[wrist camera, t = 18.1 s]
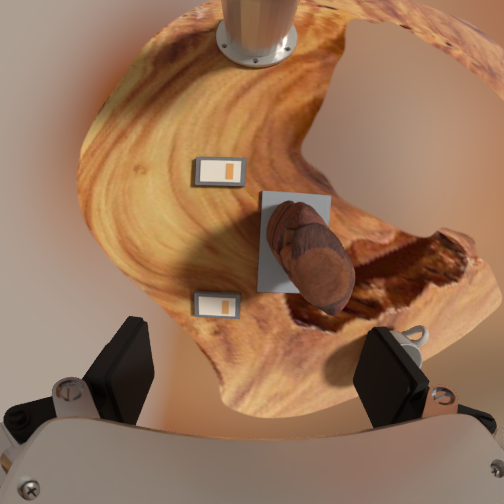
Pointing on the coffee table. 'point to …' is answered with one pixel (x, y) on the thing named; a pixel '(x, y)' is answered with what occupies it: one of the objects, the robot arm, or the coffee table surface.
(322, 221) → the wooden figurine
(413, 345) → the teacup
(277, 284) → the mat
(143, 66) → the coffee table surface
